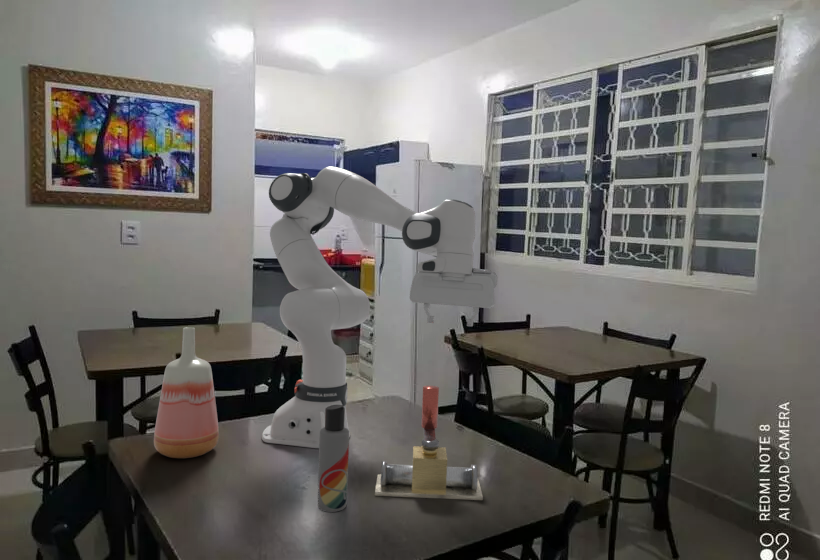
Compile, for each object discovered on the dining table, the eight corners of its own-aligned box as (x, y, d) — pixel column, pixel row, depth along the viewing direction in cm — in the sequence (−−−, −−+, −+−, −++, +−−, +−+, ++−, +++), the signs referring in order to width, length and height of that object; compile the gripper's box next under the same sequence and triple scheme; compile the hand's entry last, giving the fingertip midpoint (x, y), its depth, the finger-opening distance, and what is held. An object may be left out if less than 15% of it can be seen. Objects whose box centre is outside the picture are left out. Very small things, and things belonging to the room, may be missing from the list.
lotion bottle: (341, 514, 115) (344, 411, 113) (313, 510, 116) (316, 408, 114) (350, 501, 120) (353, 403, 119) (323, 498, 121) (326, 400, 120)
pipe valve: (374, 495, 123) (376, 453, 123) (377, 477, 132) (379, 438, 132) (482, 500, 123) (484, 458, 123) (478, 482, 132) (479, 442, 131)
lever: (438, 450, 125) (441, 402, 124) (421, 449, 125) (423, 401, 125) (436, 429, 139) (438, 385, 138) (421, 428, 139) (422, 385, 138)
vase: (214, 438, 153) (216, 322, 150) (222, 458, 140) (225, 332, 137) (152, 445, 146) (153, 324, 144) (155, 467, 133) (156, 334, 131)
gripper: (497, 271, 147) (493, 327, 146) (413, 265, 149) (409, 321, 148) (498, 269, 141) (494, 328, 140) (411, 263, 143) (406, 321, 142)
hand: (450, 324), depth 144 cm, fingers open, 8 cm apart
